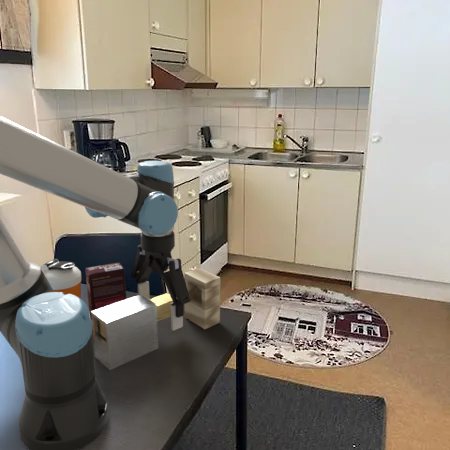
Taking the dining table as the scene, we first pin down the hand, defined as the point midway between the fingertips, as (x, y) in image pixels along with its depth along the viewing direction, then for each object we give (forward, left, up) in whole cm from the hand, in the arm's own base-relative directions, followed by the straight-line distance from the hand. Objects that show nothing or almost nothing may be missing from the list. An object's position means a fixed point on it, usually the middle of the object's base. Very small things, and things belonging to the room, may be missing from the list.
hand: (160, 317), depth 110 cm
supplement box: (-7, +13, -6) cm, 16 cm away
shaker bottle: (-18, +13, -6) cm, 23 cm away
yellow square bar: (-5, 0, 0) cm, 5 cm away
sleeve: (-9, 0, -6) cm, 11 cm away
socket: (+13, 0, -6) cm, 14 cm away
